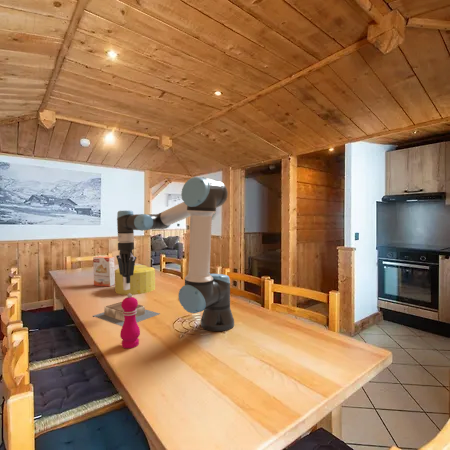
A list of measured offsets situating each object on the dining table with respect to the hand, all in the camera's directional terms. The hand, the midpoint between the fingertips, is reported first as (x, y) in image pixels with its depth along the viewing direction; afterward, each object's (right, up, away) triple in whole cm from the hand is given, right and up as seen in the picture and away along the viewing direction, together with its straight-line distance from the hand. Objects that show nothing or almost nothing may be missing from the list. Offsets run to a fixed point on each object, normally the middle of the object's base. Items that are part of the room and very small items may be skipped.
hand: (126, 289), depth 142 cm
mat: (0, -13, +1) cm, 14 cm away
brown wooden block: (+5, -11, -3) cm, 12 cm away
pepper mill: (+12, -15, -32) cm, 37 cm away
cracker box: (-39, -12, +66) cm, 78 cm away
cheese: (-12, -12, +54) cm, 56 cm away
